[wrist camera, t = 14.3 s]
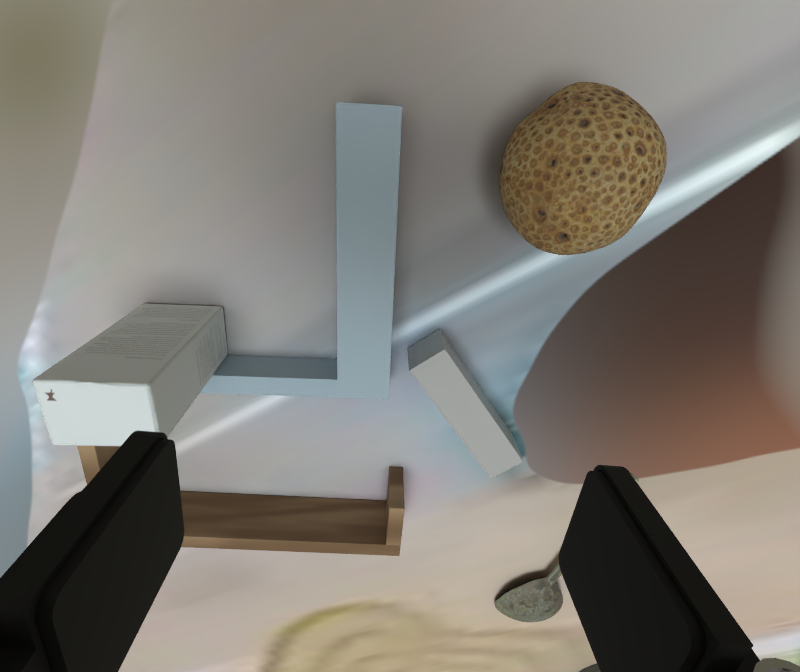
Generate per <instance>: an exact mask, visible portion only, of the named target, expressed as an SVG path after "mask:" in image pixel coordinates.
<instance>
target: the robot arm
mask: <svg viewBox="0 0 800 672" xmlns="http://www.w3.org/2000/svg"><path fill="white" fill-rule="evenodd" d="M183 538H184V521H183V512H182V503H181V494H180V485H179V477H178V468H177V459H176V450H175V443H174V441H173V440H168V439H167V436H166V434H165V433H163V432H151V431H134V432H133V433H132V434H131V435H130V436H129V437H128V438H127V440H126V441H125V442H124V443H123V444H122V445H121V446H120V448H119V449H118V450H117V451H116V452H115V453H114V455H113V456H112V457H111V458H110V459H109V460H108V462H107V463H106V464H105V465H104V466H103V467H102V468H101V470H100V471H99V472H98V473H97V474H96V475H95V477H94V478H93V479H92V480H91V481H90V482H89V483H88V485H87V486H86V487H85V488H84V489H83V490H82V491H81V492H79V493H77V494H75V495H74V496H73V497H72V498H71V499H70V500H69V501H68V502H67V503H66V504H65V505H64V506H63V507H62V509H61V510H60V511H59V512H58V513H57V514H56V515H55V517H54V518H53V519H52V520H51V521H50V522H49V523H48V524H47V526H46V527H45V528H44V529H43V530H42V531H41V532H40V534H39V535H38V536H37V537H36V538H35V539H34V540H33V542H32V543H31V544H30V545H29V546H28V547H27V548H26V550H25V551H24V552H23V553H22V554H21V555H20V556H19V558H18V559H17V560H16V561H15V562H14V563H13V565H11V567H10V568H9V569H8V570H7V571H6V572H5V573H4V575H3V576H2V577H1V578H0V672H118V671H119V669H120V667H121V665H122V663H123V661H124V659H125V657H126V655H127V653H128V651H129V649H130V647H131V645H132V643H133V641H134V639H135V637H136V635H137V633H138V631H139V629H140V627H141V625H142V623H143V621H144V619H145V617H146V615H147V613H148V611H149V609H150V607H151V605H152V603H153V601H154V599H155V597H156V595H157V593H158V591H159V589H160V587H161V586H162V584H163V582H164V580H165V578H166V576H167V574H168V572H169V570H170V568H171V566H172V564H173V562H174V560H175V558H176V556H177V554H178V552H179V550H180V548H181V545H182V542H183ZM559 566H560V570H561V573H562V575H563V578H564V580H565V583H566V585H567V588H568V590H569V593H570V595H571V598H572V600H573V603H574V606H575V608H576V611H577V613H578V616H579V618H580V621H581V623H582V626H583V628H584V631H585V633H586V636H587V638H588V641H589V643H590V646H591V649H592V651H593V654H594V656H595V659H596V661H597V664H598V666H599V669H600V671H601V672H800V666H798V665H795V664H793V663H791V662H789V661H785V660H781V659H777V658H765V659H762V660H761V661H760V660H759V658H758V657H757V656H756V654H755V653H754V651H753V650H752V649H751V648H752V646H753V644H752V643H751V641H750V640H749V639H748V637H747V636H746V634H745V633H744V632H743V630H742V629H741V627H740V626H739V625H738V623H737V622H736V620H735V619H734V618H733V616H732V615H731V613H730V612H729V611H728V609H727V608H726V606H725V605H724V604H723V602H722V601H721V600H720V598H719V597H718V595H717V594H716V593H715V591H714V590H713V588H712V587H711V586H710V584H709V583H708V581H707V580H706V579H705V577H704V576H703V574H702V573H701V572H700V570H699V569H698V567H697V566H696V565H695V563H694V562H693V560H692V559H691V558H690V556H689V555H688V553H687V552H686V551H685V549H684V548H683V546H682V545H681V544H680V542H679V541H678V539H677V538H676V537H675V535H674V534H673V532H672V531H671V530H670V528H669V527H668V525H667V524H666V523H665V521H664V520H663V518H662V517H661V516H660V514H659V513H658V511H657V510H656V509H655V507H654V506H653V505H652V503H651V502H650V500H649V499H648V498H647V496H646V495H645V493H644V492H643V491H642V489H641V488H640V486H639V485H638V484H637V482H636V481H635V479H634V478H633V477H632V475H631V474H630V472H629V471H628V470H627V469H626V468H624V467H620V466H606V465H598V466H597V467H595V469H594V471H589V472H588V473H587V475H586V478H585V481H584V484H583V487H582V490H581V492H580V495H579V498H578V501H577V504H576V507H575V510H574V512H573V515H572V518H571V521H570V524H569V527H568V530H567V532H566V535H565V538H564V541H563V544H562V547H561V550H560V553H559Z"/></svg>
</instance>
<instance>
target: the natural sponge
mask: <svg viewBox="0 0 800 672" xmlns="http://www.w3.org/2000/svg"><path fill="white" fill-rule="evenodd" d="M666 158H667V152H666V142H665V139H664V136H663V134H662V132H661V130H660V128H659V127H658V125H657V124H656V122H655V121H654V119H653V118H652V117H651V115H650V114H649V113H648V112H647V111H646V110H645V109H644V108H643V107H642V106H641V105H640V104H638V103H637V102H636V101H635V100H634V99H632V98H631V97H629V96H628V95H627V94H625V93H624V92H623V91H620V90H618V89H616V88H614V87H611V86H607V85H603V84H598V83H591V82H578V83H575V84H571V85H569V86H567V87H565V88H563V89H561V90H560V91H558V92H556V93H555V94H553V95H552V96H551V97H550V98H549V99H547V100H546V101H545V102H544V103H543V104H542V105H541V106H540V107H539V108H537V109H536V110H535V111H533V112H532V113H531V114H530V115H529V116H528V117H526V118H525V119H524V120H523V121H521V122H520V124H519V125H518V126H517V127H516V129H515V130H514V132H513V133H512V135H511V137H510V139H509V141H508V143H507V146H506V149H505V152H504V156H503V162H502V166H501V173H500V195H501V201H502V204H503V208H504V211H505V214H506V215H507V217H508V218H509V220H510V222H511V223H512V225H513V226H514V228H515V229H516V230H517V231H518V232H519V233H520V234H521V235H522V236H523V237H524V239H525V240H526V241H528V242H529V243H530V244H532V245H533V246H535V247H536V248H538V249H540V250H543V251H546V252H549V253H553V254H558V255H572V254H580V253H586V252H590V251H594V250H597V249H599V248H602V247H605V246H607V245H610V244H611V243H613V242H615V241H617V240H618V239H620V238H621V237H623V236H624V235H625V234H626V233H627V232H628V231H629V230H630V229H631V228H632V226H633V225H634V224H635V223H636V222H637V220H638V219H639V218H640V216H641V215H642V214H643V212H644V211H645V209H646V208H647V206H648V205H649V203H650V201H651V200H652V199H653V197H654V195H655V194H656V192H657V190H658V187H659V185H660V183H661V181H662V178H663V176H664V173H665V168H666Z"/></svg>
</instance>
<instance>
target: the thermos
mask: <svg viewBox="0 0 800 672" xmlns="http://www.w3.org/2000/svg"><path fill="white" fill-rule="evenodd" d="M580 672H601V671H600V669H599V666H598V664H596V665H592V666H590V667H588V668H585V669H583V670H582V671H580Z"/></svg>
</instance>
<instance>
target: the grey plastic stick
mask: <svg viewBox="0 0 800 672" xmlns="http://www.w3.org/2000/svg"><path fill="white" fill-rule="evenodd" d="M407 349H408V361H409V371H410V372H411V373H412V375H413V376H414V377H415V379H416V380H417V381H418V383H419V384H420V385H421V387H422V388H423V389H424V391H425V392H426V393H427V395H428V396H429V397H430V399H431V400H432V401H433V403H434V404H435V405H436V407H437V408H438V409H439V411H440V412H441V413H442V415H443V416H444V417H445V419H446V420H447V421H448V423H449V424H450V425H451V427H452V428H453V429H454V431H455V432H456V433H457V435H458V436H459V437H460V439H461V440H462V442H463V443H464V444H465V446H466V447H467V448H468V450H469V451H470V452H471V454H472V455H473V456H474V458H475V459H476V460H477V462H478V463H479V464H480V466H481V467H482V468H483V470H484V471H485V472H486V474H487V475H488V476H489V478H490V479H491V478H493V477H495V476H497V475H499V474H501V473H503V472H505V471H507V470H508V469H510V468H512V467H514V466H516V465H518V464H520V463H522V462H523V460H522V458H521V455H520V453H519V450H518V448H517V446H516V443H515V441H514V438H513V436H512V434H511V432H510V431H509V429H508V428H507V426H506V425H505V423H504V422H503V420H502V419H501V418H500V416H499V415H498V413H497V412H496V410H495V409H494V407H493V406H492V405H491V403H490V402H489V400H488V399H487V397H486V396H485V394H484V393H483V391H482V390H481V389H480V387H479V386H478V384H477V383H476V381H475V380H474V378H473V377H472V375H471V374H470V373H469V371H468V370H467V368H466V367H465V365H464V364H463V362H462V361H461V359H460V358H459V357H458V355H457V354H456V352H455V351H454V349H453V348H452V346H451V345H450V343H449V342H448V341H447V339H446V338H445V336H444V335H443V333H442V332H441V330H440V329H438V330H437V331H435V332H433V333H432V334H430V335H428V336H427V337H425V338H424V339H422V340H420V341H419V342H417V343H415V344H414V345H412V346H411V347H409V348H407Z"/></svg>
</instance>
